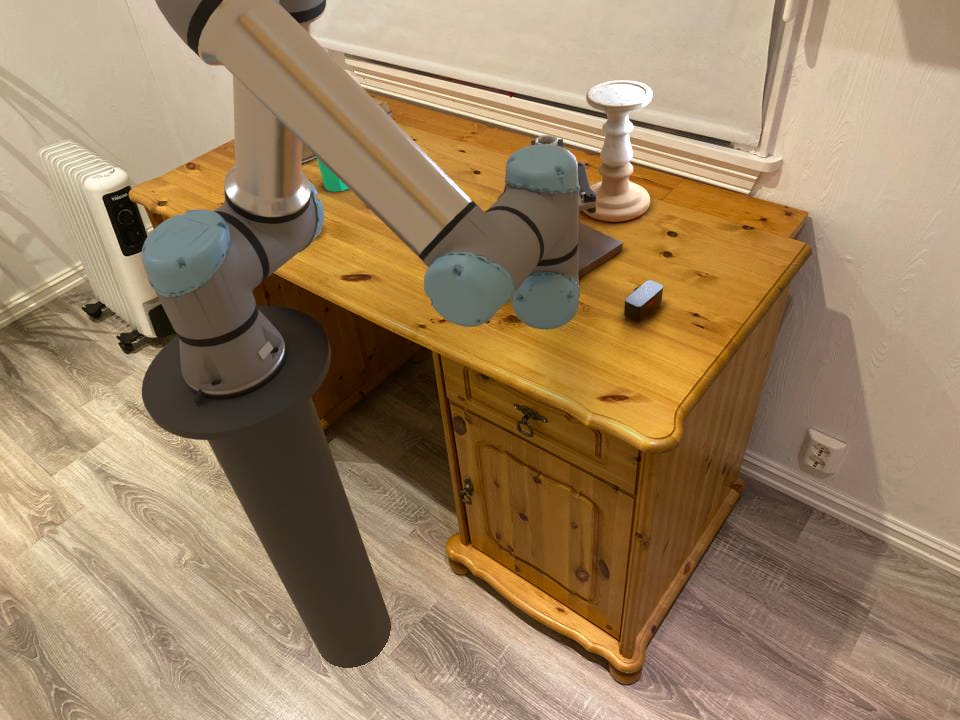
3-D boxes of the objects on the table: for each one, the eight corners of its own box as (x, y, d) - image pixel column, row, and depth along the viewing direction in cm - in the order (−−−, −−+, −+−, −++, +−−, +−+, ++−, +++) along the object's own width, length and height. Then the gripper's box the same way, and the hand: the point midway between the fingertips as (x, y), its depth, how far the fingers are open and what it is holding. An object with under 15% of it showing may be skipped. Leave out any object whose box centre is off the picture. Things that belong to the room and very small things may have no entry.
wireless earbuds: (666, 300, 106) (668, 283, 104) (638, 325, 102) (639, 307, 100) (639, 289, 108) (641, 272, 106) (611, 313, 105) (612, 295, 103)
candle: (360, 182, 141) (347, 124, 133) (337, 194, 138) (322, 136, 130) (342, 173, 145) (328, 116, 137) (318, 186, 142) (303, 128, 134)
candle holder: (626, 230, 120) (632, 115, 107) (565, 210, 127) (564, 99, 113) (662, 198, 127) (673, 85, 113) (604, 180, 133) (607, 72, 120)
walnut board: (534, 306, 108) (534, 298, 107) (470, 267, 116) (469, 260, 115) (622, 250, 116) (623, 242, 115) (556, 218, 125) (556, 210, 124)
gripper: (484, 260, 94) (495, 173, 111) (610, 256, 92) (601, 168, 109) (479, 210, 88) (491, 127, 106) (613, 205, 87) (602, 121, 104)
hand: (547, 148), depth 107 cm, fingers closed on flask, 3 cm apart
